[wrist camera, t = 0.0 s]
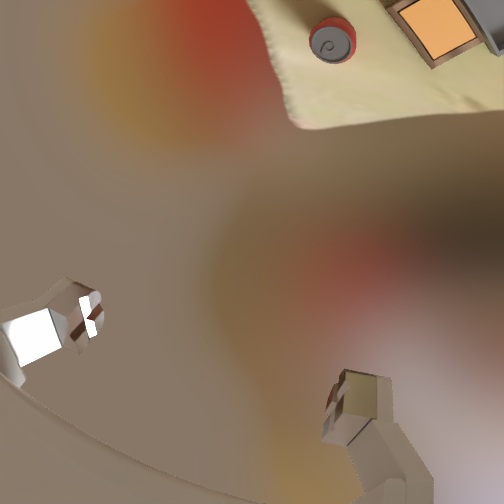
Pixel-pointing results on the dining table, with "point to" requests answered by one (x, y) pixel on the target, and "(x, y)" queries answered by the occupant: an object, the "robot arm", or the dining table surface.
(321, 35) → the beer can
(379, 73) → the dining table surface
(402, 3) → the checker stand
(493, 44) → the tray
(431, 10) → the orange square panel
